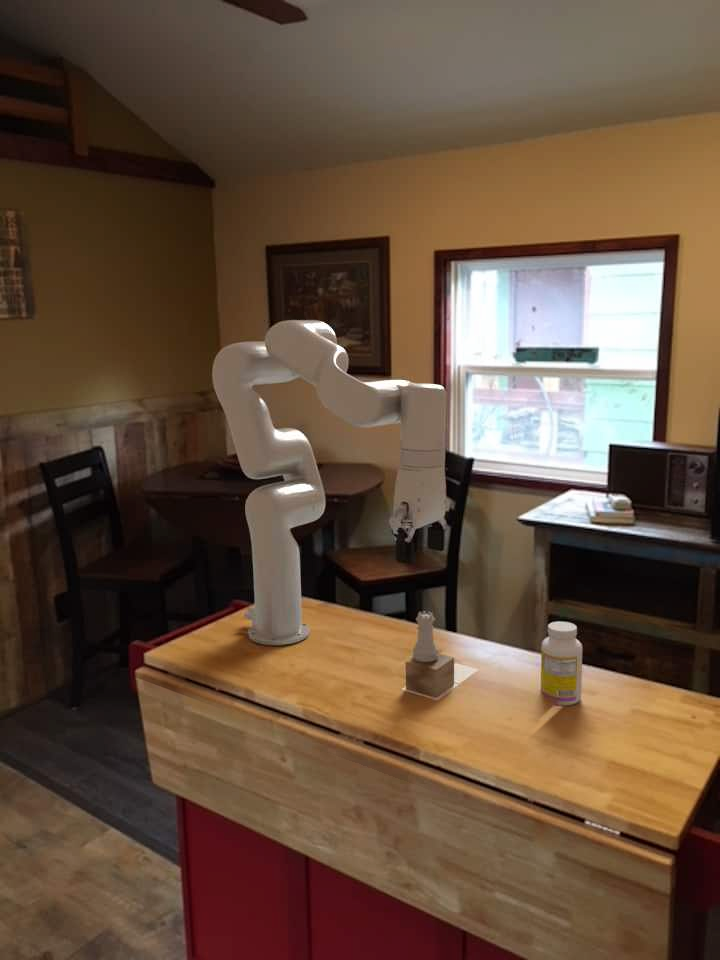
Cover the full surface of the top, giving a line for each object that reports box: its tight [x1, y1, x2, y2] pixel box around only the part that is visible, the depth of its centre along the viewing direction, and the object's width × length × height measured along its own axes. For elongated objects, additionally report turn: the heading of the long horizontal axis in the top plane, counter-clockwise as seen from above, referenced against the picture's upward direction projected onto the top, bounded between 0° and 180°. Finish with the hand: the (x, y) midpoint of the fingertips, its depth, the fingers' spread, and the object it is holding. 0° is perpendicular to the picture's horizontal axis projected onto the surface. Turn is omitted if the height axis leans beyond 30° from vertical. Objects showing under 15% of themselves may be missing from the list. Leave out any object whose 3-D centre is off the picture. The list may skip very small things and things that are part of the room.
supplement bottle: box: [540, 621, 583, 707], centre depth 135 cm, size 7×7×13 cm
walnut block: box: [405, 653, 455, 698], centre depth 138 cm, size 6×6×5 cm
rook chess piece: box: [412, 611, 439, 663], centre depth 137 cm, size 4×4×8 cm
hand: (420, 556), depth 139 cm, fingers open, 9 cm apart
